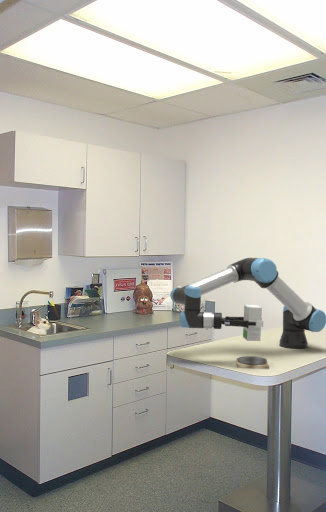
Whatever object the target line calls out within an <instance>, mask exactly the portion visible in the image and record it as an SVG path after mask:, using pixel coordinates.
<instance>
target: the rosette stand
mask: <svg viewBox="0 0 326 512" xmlns="http://www.w3.org/2000/svg"><path fill="white" fill-rule="evenodd" d="M235 362H236V368H238V369H239V368H243V369H264V370H266V369H267V370H269V369H270V365H269V362H268V360H267V359H266V358H264V357H261V356H253V355H251V356H250V355H247V356H246V355H244V356H243V355H242V356H239V357H236V361H235Z"/></svg>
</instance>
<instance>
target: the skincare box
mask: <svg viewBox="0 0 326 512" xmlns="http://www.w3.org/2000/svg"><path fill="white" fill-rule="evenodd" d="M262 311H263V307H261V305H258V304H244V307H243V317H244V320H245V321H249V320H254V321H261V318H262V317H263V316H262V315H263V313H262ZM261 335H262V327H249V326H248V328H247V327H242V339H245V340H246V341H248V342H250V341H251V342H261Z"/></svg>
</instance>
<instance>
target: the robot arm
mask: <svg viewBox="0 0 326 512" xmlns="http://www.w3.org/2000/svg"><path fill="white" fill-rule="evenodd" d="M277 269H278V268H277V266H276V263H275V262H274V261H273V260H271V259H270V258H265V257H246V258H242V259H240V260H238V261H236V262H233V263H231V264H229V265H228V266H227V267H226V268H225V269H222V270H220V271H218V272H215V273H212V274H210V275H208V276H205V277H203V278H201V279H198V280H197V281H194V282H192V283H189V284H187V285H184V286H182V287H174V288H173V289H172V290H171V292H170V294H169V295H170V300H171V301H172V302H173V303H175V304H179V305H184V309H183V310H184V311H180V313H179V325H180V327H181V328H186V329H187V328H188V329H205V330H207V331H208V330H209V329H214V330H221V329H222V327H223V326H222V325H224V326H225V327H238V328H239V327H241V328H243V327H247V328H248V326H249V327H261V328H263V327H264V320H263V318H262V317H261V321H254V320H249V321H245V320H244V316H225V317H223V314H222V312H212V311H210V312H209V311H203V312H202V311H201V305H202V303H201V302H202V301H201V300H202V296H204V295H205V294H208V293H211V292H212V291H214V290H217V289H219V288H222V287H224V286H227V285H228V284H231V283H235V284H236V283H238V282H241V281H249V282H250V281H251V282H254V283H256V284H257V285H258V286H259V287H260V288H261V289H267V290H268V292H269V293H270V294H272V295H273V296H274V297H275V298H276V299H277V300H278V301H279V302H280V303H281V304H282V305H283V309H282V333H281V336H280V339H279V346H280V347H283V348H285V349H286V348H287V349H307V348H308V347H309V346H308V345H309V342H308V339H307V335H306V332H305V331H309V332H311V333H319V332H322V330H323V329H324V328H325V327H326V313H325V311H324V310H321V309H317V308H316V307H315V306H314V305H313V304H312V303H310V302H308V301H304V300H303V299H302V297H300V296H299V295H298V293H296V292H295V291H294V290H293V289H292V287H290V286H289V285H288V284H287V283H286V282H285V281H284V280H283V279H282V278H281V277H280V276H279V271H278V270H277Z"/></svg>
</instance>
